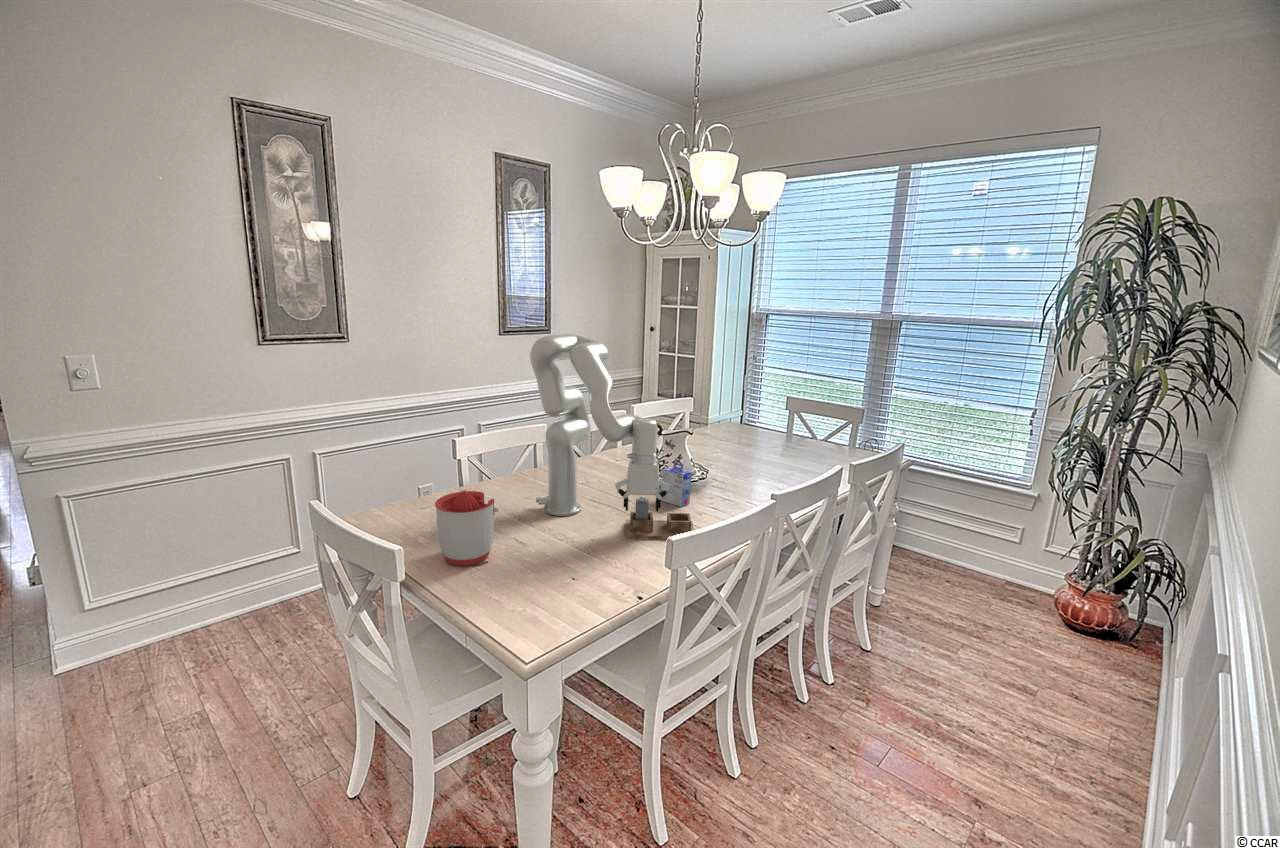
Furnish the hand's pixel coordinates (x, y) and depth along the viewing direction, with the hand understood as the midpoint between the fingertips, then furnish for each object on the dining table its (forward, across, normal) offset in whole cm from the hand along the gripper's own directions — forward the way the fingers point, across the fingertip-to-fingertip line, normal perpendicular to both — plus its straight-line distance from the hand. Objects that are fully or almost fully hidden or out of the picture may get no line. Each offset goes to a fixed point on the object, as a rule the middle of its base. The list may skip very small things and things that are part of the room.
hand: (641, 509), depth 178 cm
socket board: (+7, +6, 0) cm, 9 cm away
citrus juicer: (+8, -49, -20) cm, 53 cm away
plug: (+6, 0, 0) cm, 6 cm away
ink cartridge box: (+8, +13, +26) cm, 30 cm away
